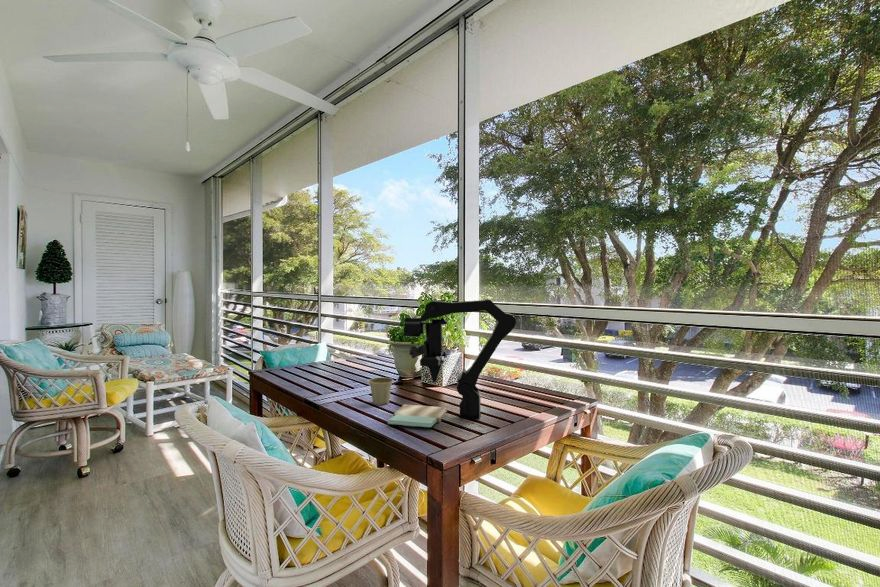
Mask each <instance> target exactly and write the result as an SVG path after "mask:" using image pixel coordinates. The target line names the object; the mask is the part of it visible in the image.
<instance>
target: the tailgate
mask: <svg viewBox="0 0 880 587" xmlns="http://www.w3.org/2000/svg"><path fill="white" fill-rule="evenodd" d="M436 423H438V422H437V418H432V417H419V416H407V415H395V416H391V417H390V418H389V419H388V420H387V425H402V426H405V427H414V428H415V427H421V428H422V427H423V428H432V427H433V426H434V424H436Z"/></svg>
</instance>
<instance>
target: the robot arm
mask: <svg viewBox="0 0 880 587" xmlns="http://www.w3.org/2000/svg"><path fill="white" fill-rule="evenodd" d="M474 312H487V313H488V314H489V315H490V316H491V317H492V318H494V319H495V320H496V322H495V324H494V327H493V330H492V333H491V335H490V336H489V337H488V340H487V341H486V342H485V344H484V345H483V347H482V349H481V350H480V351H479V353H478V355H477V356H476V358H475V359H474V361H473V363H472V364H471V366H470V367H469V368H468V369H467V370H466V369H465V368H462V371H461V373H460V375H458V376H457V380H456V391H457V393H458V394H459V395H460V396H461V401H460V402H459V418H460V419H466V420H468V419H469V420H480V418H481V415H482V412H481V404H482V403H481V402H482V401H481V399H482V398H481V396H480V389H479V388H478V387H477V382H478V381H479V377H480V374H482V371H483V370H484V369H485V367H486V365H487V364H488V362H489V361H490V359H491V357H492V356H493V354H494V353H495V351H496V349H497V348H498V346H499V345H500V343H501V342H502V340H504V339H505V338H506V337H507V336H508V335H509V334H510V333H511V332H512V330H514V329H515V328H516V324H517V321H516V318H515V316H514V315H512V314H511V313H509V312H504V311H503V310H502V309H501V308H500V307H498V306H497V305H496V304H495V303H494V301H493V300H491V299H489V298H488V299H487V298H486V299H482V300H469V301H465V300H464V301H454V302H451V301H443V300H431V301H429V302H427V303H426V305H425V308H424V312H423V314H422V315H420V317H408V316H407V317H405V318H404V325H403V326H404V327H403V337H405V338H421V337H422V335H424V334H425V340H423V343H422V344H419V345H417V344H415V345H411V347H410V349H409V355H410V356H411V359H415V358H417V357H419V356H422V355H423V356H422V357H421V358H420V359H419V367H427V368H428V369H429V373H430V377H431V380H432V382H433V383H436V382H437V381H438V378H439V375H440V373H441V370H442V367H443V365H444V363H445V360H443V359H441V357H443V358H445V359H446V358H447V357H448V351H447V350H446V349H445V348H443V343H444V338H443V325H447V324H448V323H449V322H448V320H446V319H445V317H444V316H447V315H451V314H458V313H459V314H460V313H461V314H462V313H474ZM440 317H441V318H440ZM430 319H431V321H428V320H430Z"/></svg>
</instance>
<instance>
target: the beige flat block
mask: <svg viewBox="0 0 880 587" xmlns="http://www.w3.org/2000/svg"><path fill="white" fill-rule="evenodd" d="M446 412H448V407H443V406H432V405H431V406H429V405H418V404H417V405H416V404H405V403H404V404H403V405H402V406H400V408H399V409H397V410H396V411H395V412H394V413H393V416H395V415H407V416H419V417H432V418H437V422H436V423H438V422H440V423H441V421H442V420H443V419H444V417H445V416H444V415H446V414H447V413H446ZM445 413H446V414H445ZM393 416H392V417H393ZM443 416H444V417H443ZM441 419H442V420H441Z"/></svg>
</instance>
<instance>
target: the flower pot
mask: <svg viewBox="0 0 880 587" xmlns="http://www.w3.org/2000/svg"><path fill="white" fill-rule="evenodd" d="M393 382H394V379H393V378H390V377H373V378H370V379H368V383H369V386H370V390H371V399H372V403H373V404H374V405H384V404H386V405H387V404H389V403H390V398H391V391H392V385H393Z"/></svg>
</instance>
